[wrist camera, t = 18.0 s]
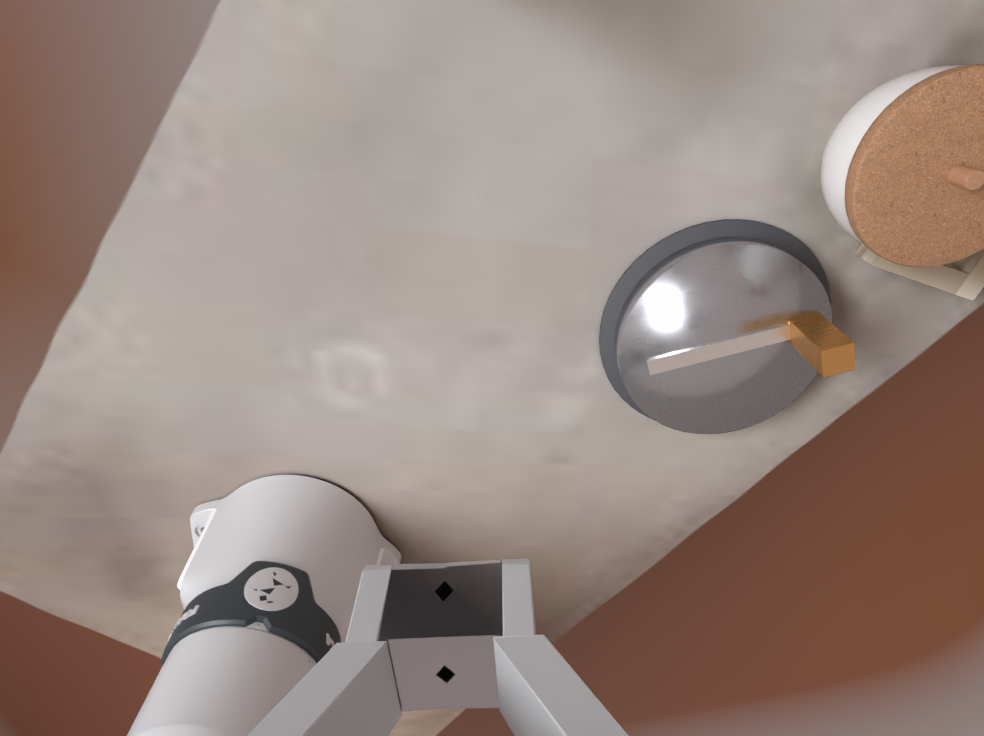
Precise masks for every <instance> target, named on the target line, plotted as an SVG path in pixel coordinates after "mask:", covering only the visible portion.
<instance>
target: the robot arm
mask: <svg viewBox="0 0 984 736" xmlns="http://www.w3.org/2000/svg"><path fill="white" fill-rule="evenodd" d="M190 524H191V531H192V537H193V544H194V550H193V552H192V554H191V556H190V558H189V560H188V562H187V564H186V566H185V568H184V570H183V572H182V574H181V576H180V578H179V581H178V585H177V587H178V589H180V590H181V591H180V596H181V602H182V605H183V607H184V612H183V613H182V615H181V617H180V618H179V619H178V621H177V623H176V624H175V626H174V628H173V630H172V632H171V634H170V636H169V638H168V642H167V643H168V644H167V646H166V648H165V650H164V653H163V656H162V669H161V671H160V673H159V675H158V677H157V679H156V680H155V682H154V685H153V686H152V688H151V690H150V692H149V694H148V696H147V698H146V700H145V702H144V704H143V706H142V708H141V710H140V712H139V713H138V716H137V717H136V719H135V721H134V723H133V725H132V727H131V729H130V731H129V733H128V735H127V736H388V735H389V733H390V732H391V730H392V729H393V727H394V726H395V724H396V723H397V721H398V720H399V718H400V717H401V715H402V713H401V711H417V710H432V709H447V708H499V709H500V712H501V714H502V715H503V717H504V718H505V720H506V722H507V724H508V725H509V727H510V729H511V731H512V732H513V734H514V736H628V735H627V734H626V732H625V731H624V730H623V729H622V728H621V726H620V725H619V724H618V723H617V722H616V721H615V719H614V718H613V717H612V716H611V715H610V713H609V712H608V711H607V710H606V708H605V707H604V706H603V705H602V704H601V702H600V701H599V700H598V699H597V698H596V696H595V695H594V694H593V693H592V692H591V691H590V689H589V688H588V687H587V686H586V684H585V683H584V682H583V681H582V680H581V678H580V677H579V676H578V675H577V674H576V672H575V671H574V670H573V669H572V668H571V666H570V665H569V664H568V663H567V662H566V660H565V659H564V658H563V657H562V655H561V654H560V653H559V652H558V651H557V650H556V648H555V647H554V646H553V645H552V643H551V642H550V641H549V640H548V639H547V637H546V636H545V635H536V629H535V616H534V602H533V589H532V575H531V562H530V560H529V558H526V559H506V560H502V562H501V560H486V561H468V562H449V563H428V564H400V562H401V559H402V556H401V553H400V552H399V551H398V550H397V549H396V548H395V547H394V546H393V545H392V544H391V543H390V542H389V541H387V540H386V539H385V538H384V537H383V536H382V535H381V534H380V532H379V530H378V528H377V526H376V524H375V522H374V520H373V518H372V516H371V515H370V513H369V512H368V511H367V510H366V508H365V507H364V506H363V505H362V504H361V503H360V502H359V501H358V500H357V499H355V498H354V497H353V496H352V495H350V494H349V493H347V492H346V491H344V490H342V489H341V488H339V487H337V486H335V485H332V484H330V483H328V482H325V481H322V480H319V479H315V478H311V477H306V476H299V475H275V476H268V477H263V478H259V479H256V480H254V481H251V482H249V483H247V484H245V485H243V486H241V487H240V488H238V489H237V490H236V491H234V492H233V493H232V494H230V495H229V496H227V497H225V498H223V499H220V500H215V501H211V502H207V503H203V504H200V505H198V506H197V507H195V509H194V510H193V513H192V515H191V517H190Z"/></svg>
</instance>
